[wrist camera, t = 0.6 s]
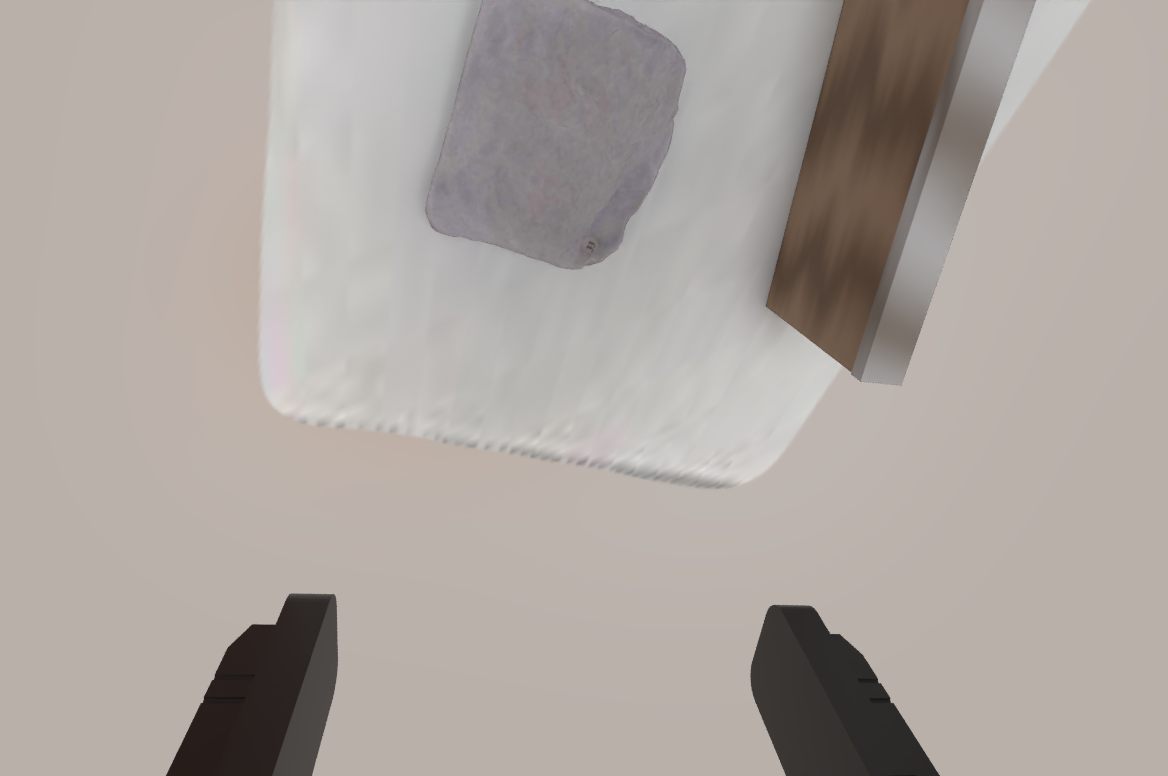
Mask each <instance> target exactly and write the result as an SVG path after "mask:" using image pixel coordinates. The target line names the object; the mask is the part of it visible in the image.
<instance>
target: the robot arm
mask: <svg viewBox="0 0 1168 776" xmlns="http://www.w3.org/2000/svg"><path fill="white" fill-rule="evenodd" d="M337 648H338V646H337V605H336V597H335V595H334V594H290V595H289V596H288V597H287V599H286V601H285V604H284V606H283V608H282V611H281V613H280V616H279V618H278V621H277V623H276V625H256V624H254V625H251V626H250V627H249V628H248V629H247V630H246V631H245V632H244V633H243V634H242V635H241V636H240V637H238V639H236V640H235V641H234V642H233V643H232V644H231V645H230V646H229V647H228V648H227V651H226V652H225V655H224V657H223V659H222V661H221V663H220V665H219V667H218V669H217V671H216V674H215V678H214V680H212V682H211V684H210V686H209V688H208V690H207V692H206V694H205V696H204V701H203V703H201V704H200V706H199V708H198V710H197V713H196V715H195V717H194V719H193V721H192V723H191V725H190V727H189V729H188V731H187V733H186V735H185V738H184V740H183V742H182V744H181V746H180V748H179V750H178V752H177V754H176V756H175V758H174V760H173V763H172V764H171V767H170V769H169V771H168V773H167V775H166V776H312V773H313V769H314V765H315V762H316V758H317V755H318V751H319V747H320V743H321V740H322V736H323V732H324V729H325V725H326V721H327V717H328V713H329V710H330V706H331V703H332V699H333V695H334V690H335V684H336V677H337V666H338V649H337ZM751 687H752V692H753V696H754V699H755V702H756V704H757V707H758V709H759V712H760V714H761V716H762V719H763V721H764V724H765V726H766V728H767V731H768V733H769V736H770V738H771V740H772V743H773V745H774V748H775V750H776V753H777V755H778V757H779V760H780V762H781V765H782V767H783V769H784V772H785V774H786V776H940V775H939V774H938V772H937V771H936V769H935V768H934V766H933V764H932V763H931V761H930V760H929V758H928V757H927V755H926V754H925V752H924V750H923V749H922V747H921V746H920V744H919V742H918V741H917V739H916V738H915V736H914V735H913V733H912V731H911V730H910V728H909V727H908V725H907V724H906V722H905V720H904V719H903V717H902V716H901V714H900V713H899V711H898V710H897V708H896V706H895V705H894V703H891V702H890V697H889V695H888V694H887V692H886V691H885V689H884V687H883V686H882V684H881V683H878V678H877V677H876V675H875V673H874V672H873V670H872V669H871V667H870V666H869V664H868V662H867V661H866V659H865V658H864V656H863V655H862V654H861V653H860V652H859V651H858V650H857V649H856V648H854V647H853V646H852V645H851V644H850V643H849V642H848V641H847V640H845V639H844V638H843V637H842V636H841V635H840V634H830V633H829V631H828V629H827V628H826V626H825V625H824V623H823V621H822V620H821V618H820V616H819V614H818V613H817V611H816V610H815V609H814V608H813V607H811V606H799V605H772V606H770V608H769V609H768V611H767V614H766V617H765V620H764V624H763V627H762V631H761V634H760V637H759V641H758V644H757V647H756V651H755V654H754V658H753V661H752V665H751Z"/></svg>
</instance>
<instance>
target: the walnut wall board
mask: <svg viewBox="0 0 1168 776" xmlns="http://www.w3.org/2000/svg"><path fill="white" fill-rule="evenodd" d="M1035 2H1036V0H844V4H843V8H842V12H841V16H840V19H839V23H838V27H837V31H836V35H835V39H834V43H833V47H832V51H831V55H830V58H829V62H828V66H827V70H826V74H825V78H824V82H823V86H822V90H821V94H820V97H819V101H818V105H817V109H816V113H815V117H814V121H813V125H812V129H811V133H810V136H809V140H808V144H807V148H806V152H805V156H804V160H803V164H802V168H801V172H800V175H799V179H798V183H797V187H796V191H795V195H794V199H793V203H792V207H791V211H790V214H789V218H788V222H787V226H786V230H785V234H784V238H783V242H782V246H781V250H780V253H779V257H778V261H777V265H776V269H775V273H774V277H773V281H772V285H771V289H770V292H769V296H768V300H767V304H766V307H768V308H769V309H770V310H772V311H773V312H774V313H775V314H777V315H778V316H779V317H781V318H782V319H783V320H784V321H786V322H787V323H788V324H790V325H791V326H792V327H794V328H795V329H796V330H797V331H799V332H800V333H801V334H803V335H804V336H805V337H806V338H808V339H809V340H810V341H812V342H813V343H814V344H816V345H817V346H818V347H819V348H821V349H822V350H823V351H825V352H826V353H827V354H828V355H830V356H831V357H832V358H834V359H835V360H836V361H838V362H839V363H840V364H841V365H843V366H844V367H845V368H847V369H848V370H849V371H850V372H851V374H852V375H853V376H854V377H855V378H857V379H858V380H859V381H860V382H870V383H880V384H891V385H900V386H901V385H902V382H903V379H904V376H905V374H906V371H907V368H908V365H909V362H910V359H911V356H912V353H913V351H914V348H915V345H916V342H917V339H918V336H919V334H920V331H921V328H922V325H923V322H924V319H925V316H926V314H927V311H928V307H929V305H930V302H931V299H932V296H933V294H934V291H935V288H936V285H937V282H938V279H939V275H940V273H941V271H942V268H943V265H944V262H945V259H946V256H947V253H948V250H949V248H950V245H951V242H952V239H953V236H954V233H955V231H956V227H957V225H958V222H959V219H960V216H961V213H962V210H963V208H964V205H965V202H966V199H967V196H968V193H969V190H970V188H971V184H972V182H973V179H974V176H975V173H976V170H977V168H978V165H979V162H980V159H981V156H982V153H983V150H984V148H985V145H986V142H987V139H988V136H989V133H990V130H991V128H992V125H993V122H994V119H995V116H996V113H997V110H998V107H999V105H1000V102H1001V99H1002V96H1003V93H1004V90H1005V87H1006V85H1007V82H1008V79H1009V76H1010V73H1011V70H1012V67H1013V65H1014V62H1015V59H1016V56H1017V53H1018V50H1019V47H1020V44H1021V42H1022V39H1023V36H1024V33H1025V30H1026V27H1027V24H1028V22H1029V19H1030V16H1031V13H1032V10H1033V7H1034V4H1035Z"/></svg>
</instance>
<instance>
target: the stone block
mask: <svg viewBox="0 0 1168 776" xmlns="http://www.w3.org/2000/svg"><path fill="white" fill-rule="evenodd" d="M685 73H686V68H685V60H684V59H683V57H682V55H681V53H680V52H679V50H678V48H677V47H676V46H675V45H674V44H673V43H672V42H671V41H670V40H668V39H667V38H666V37H664V36H663V35H661V34H660V33H658V32H657V31H655V30H653V29H650V28H649V27H648V26H646V25H643V24H641V23H639V22H637V21H636V20H635V19H634V17H632V16H630V15H628V14H626V13H624V12H622V11H621V10H619V9H611V8H607V7H602V6H598V5H596V4H594V3H593V2H590V1H588V0H483V1H482V5H481V8H480V12H479V15H478V19H477V22H476V25H475V28H474V32H473V36H472V39H471V43H470V46H469V49H468V53H467V57H466V61H465V64H464V68H463V72H462V76H461V80H460V84H459V88H458V92H457V96H456V99H455V104H454V108H453V112H452V115H451V119H450V122H449V126H448V129H447V132H446V136H445V139H444V143H443V147H442V151H441V154H440V158H439V161H438V164H437V167H436V170H435V172H434V176H433V179H432V182H431V187H430V191H429V194H428V198H427V203H426V214H427V217H428V219H429V222H430V224H431V226H432V228H433V229H434V230H436V231H438V232H440V233H443V234H446V235H450V236H453V237H456V236H462V237H465V238H468V239H470V240H478V241H483V242H486V243H490V244H494V245H497V246H500V247H503V248H506V249H509V250H512V251H515V252H518V253H521V254H524V255H526V256H528V257H531V258H534V259H538V260H542V261H545V262H548V263H550V264H552V265H555V266H557V267H560V268H565V269H581V268H582V267H584V266H585V265H592V264H596V263H599V262H602V261H603V260H604V259H605V258H606V257H607V256H609V255H610V254H612V253H613V252H614V251H616V250H617V249H618V247H619V246H620V244H621V242H622V238H623V234H624V229H625V226H626V223H627V222H628V220H629V218H630V217H631V216H632V215H633V214H634V213H635V212H636V211H637V210H638V209H639V207H640V205H641V204H642V202H643V200H644V198H645V196H646V195H647V194H648V192H649V191H650V189H651V187H652V185H653V183H654V180H655V178H656V176H657V174H658V169H659V168H660V166H661V164H662V162H663V160H664V158H665V156H666V154H667V152H668V149H669V146H670V142H671V138H672V132H673V125H674V122H673V117H674V116H675V115H676V112H677V111H678V99H679V94H680V91H681V87H682V83H683V79H684V76H685Z"/></svg>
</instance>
